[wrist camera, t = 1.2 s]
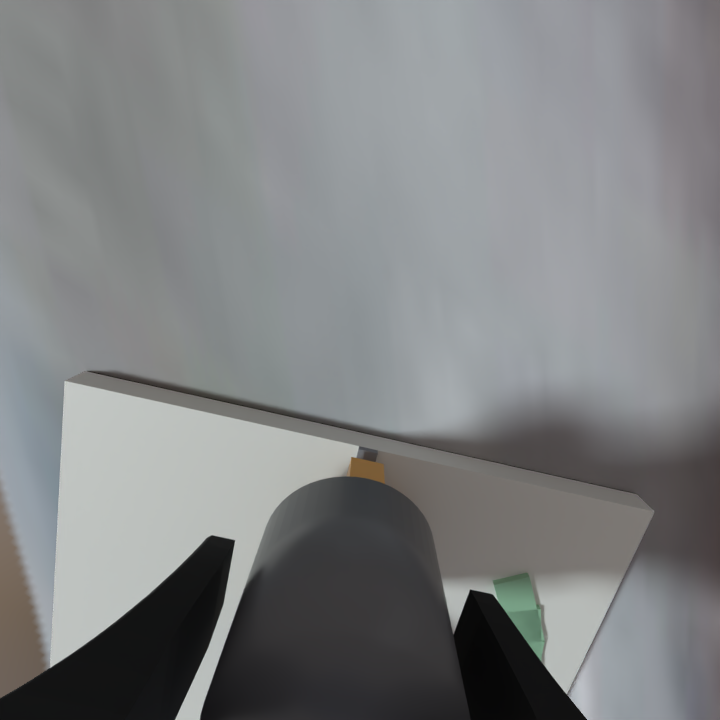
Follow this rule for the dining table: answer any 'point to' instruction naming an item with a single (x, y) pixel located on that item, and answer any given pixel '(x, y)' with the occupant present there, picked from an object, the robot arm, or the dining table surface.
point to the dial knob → (341, 613)
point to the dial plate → (289, 473)
